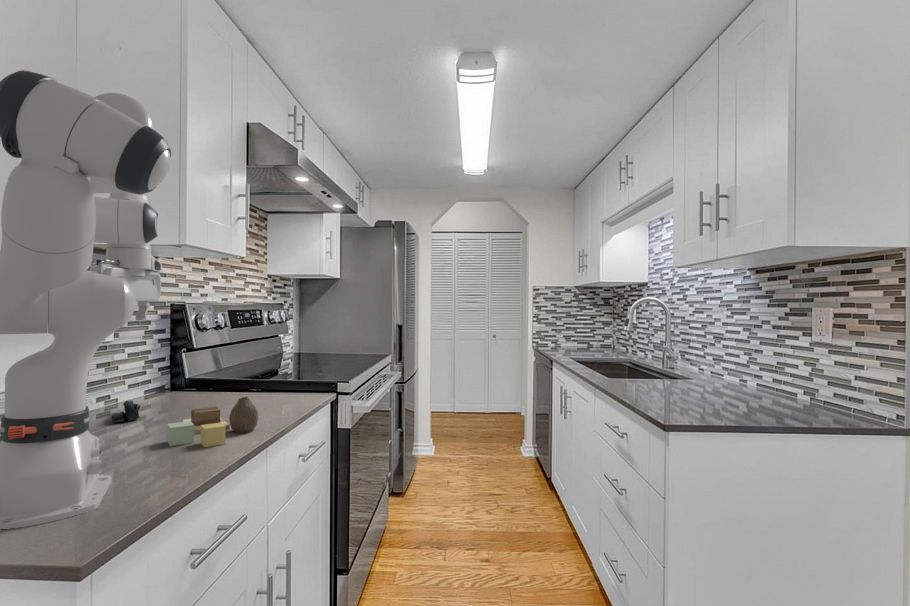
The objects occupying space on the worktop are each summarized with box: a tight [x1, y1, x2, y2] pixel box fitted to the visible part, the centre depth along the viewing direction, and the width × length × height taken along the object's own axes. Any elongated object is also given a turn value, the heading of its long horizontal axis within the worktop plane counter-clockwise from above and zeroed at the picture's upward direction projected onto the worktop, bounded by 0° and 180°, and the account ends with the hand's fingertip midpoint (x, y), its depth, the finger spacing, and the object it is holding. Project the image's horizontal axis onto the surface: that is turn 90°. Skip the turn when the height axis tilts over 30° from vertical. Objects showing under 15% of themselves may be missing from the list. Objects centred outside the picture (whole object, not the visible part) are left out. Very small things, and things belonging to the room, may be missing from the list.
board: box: [181, 417, 231, 435], centre depth 134 cm, size 14×9×1 cm, turn 37°
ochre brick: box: [200, 423, 226, 448], centre depth 118 cm, size 4×4×4 cm
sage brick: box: [166, 421, 195, 447], centre depth 119 cm, size 5×5×4 cm
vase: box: [228, 396, 259, 434], centre depth 130 cm, size 7×7×9 cm
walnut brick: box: [190, 405, 221, 426], centre depth 134 cm, size 6×6×4 cm
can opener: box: [111, 399, 142, 424], centre depth 145 cm, size 18×7×6 cm, turn 30°
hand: (129, 321), depth 116 cm, fingers open, 8 cm apart
